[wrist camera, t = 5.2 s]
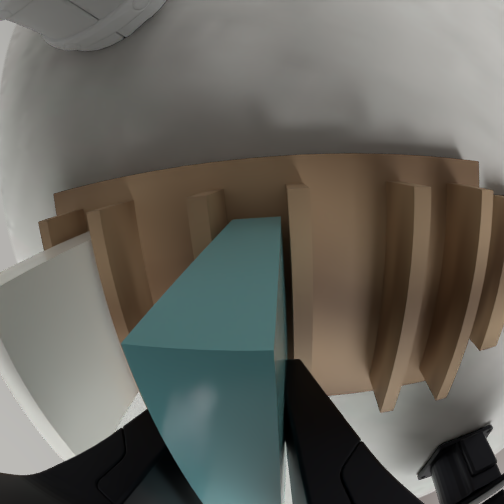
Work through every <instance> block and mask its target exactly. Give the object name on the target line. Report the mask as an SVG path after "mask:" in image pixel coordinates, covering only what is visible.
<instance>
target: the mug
mask: <svg viewBox="0 0 504 504" xmlns="http://www.w3.org/2000/svg"><path fill="white" fill-rule="evenodd" d="M165 2H166V0H0V21H2V20H5V19H6V20H9V21H11V22H14V23H16V24H19V25H22V26H24V27H27V28H29V29H32V30H34V31H36V32H39V33H41V36H42V37H43V39H44V41H45V42H46V43H48V44H49V45H51V46H53V47H56V48H58V49H62V50H80V51H92V50H99V49H102V48H105V47H108V46H110V45H113V44H115V43H117V42H119V41H121V40H123V36H125V37H128V36H129V35H131V34H132V33H133V32H134V31H135V30H136V29H137V28H138V27H139V26H141V25H142V24H143V23H144V22H145V21H146V20H147V19H149V18H151V17H152V16H153V15H154V14H155V13H156V12H157V11H158V10H159V9H160V8H161V7H162V6H163V4H164V3H165Z"/></svg>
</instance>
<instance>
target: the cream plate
mask: <svg viewBox="0 0 504 504" xmlns="http://www.w3.org/2000/svg"><path fill="white" fill-rule="evenodd" d="M0 375H1V376H2V378H3V380H4V382H5V383H6V385H7V387H8V388H9V390H10V391H11V393H12V395H13V396H14V398H15V399H16V401H17V402H18V404H19V405H20V407H21V408H22V410H23V411H24V413H25V414H26V416H27V417H28V418H29V420H30V421H31V423H32V424H33V425H34V427H35V428H36V429H37V430H38V432H39V433H40V434H41V436H42V437H43V438H44V439H45V441H46V442H47V443H48V444H49V445H50V447H51V448H52V449H53V450H54V451H55V452H56V453H57V454H58V456H59V457H60V458H61V459H63V460H65V461H66V460H68V459H70V458H72V457H74V456H76V455H78V454H80V453H82V452H84V451H86V450H87V449H89V448H91V447H93V446H95V445H96V444H98V443H99V442H101V441H102V440H104V439H106V438H107V437H109V436H110V435H112V434H113V433H114V432H115V430H116V429H117V427H118V425H119V424H120V422H121V420H122V418H123V417H124V415H125V413H126V412H127V410H128V408H129V407H130V405H131V403H132V402H133V400H134V398H135V397H136V395H137V393H138V391H139V390H138V387H137V385H136V383H135V380H134V378H133V376H132V373H131V371H130V368H129V366H128V363H127V361H126V358H125V356H124V353H123V350H122V348H121V345H120V342H119V339H118V336H117V333H116V330H115V328H114V324H113V321H112V318H111V315H110V312H109V309H108V305H107V302H106V299H105V295H104V291H103V288H102V284H101V280H100V276H99V272H98V268H97V264H96V260H95V256H94V251H93V246H92V242H91V237H90V231H88V232H86V233H83V234H81V235H79V236H76V237H74V238H72V239H69V240H67V241H65V242H62V243H60V244H58V245H56V246H53V247H51V248H49V249H47V250H45V251H43V252H40V253H38V254H36V255H34V256H32V257H30V258H28V259H26V260H24V261H22V262H20V263H18V264H16V265H14V266H12V267H10V268H8V269H6V270H4V271H2V272H0Z"/></svg>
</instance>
